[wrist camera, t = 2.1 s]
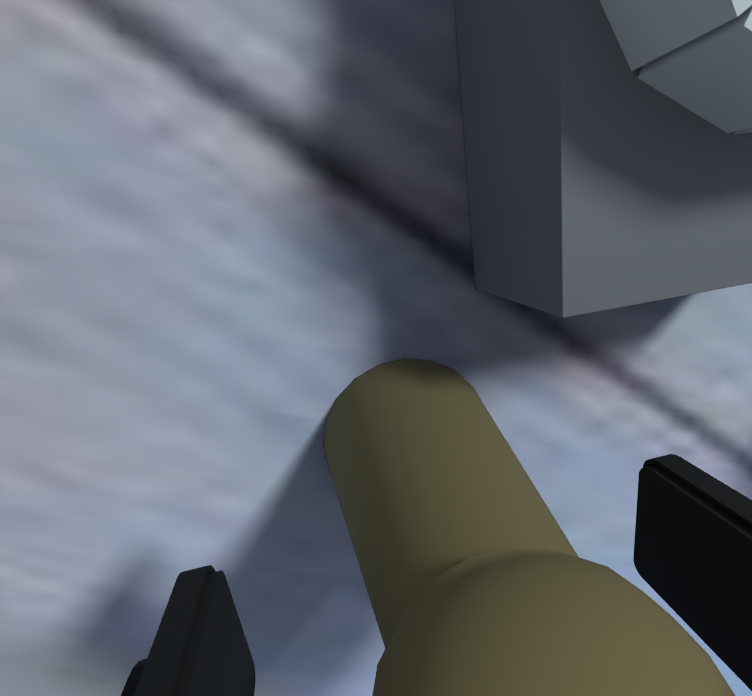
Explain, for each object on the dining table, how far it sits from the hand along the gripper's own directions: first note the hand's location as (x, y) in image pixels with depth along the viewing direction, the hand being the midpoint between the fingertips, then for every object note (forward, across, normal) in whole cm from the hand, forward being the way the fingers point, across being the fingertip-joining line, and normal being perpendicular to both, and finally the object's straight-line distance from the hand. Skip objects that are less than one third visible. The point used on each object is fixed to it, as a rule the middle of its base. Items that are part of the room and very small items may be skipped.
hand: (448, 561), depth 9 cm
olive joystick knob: (+6, 0, 0) cm, 6 cm away
